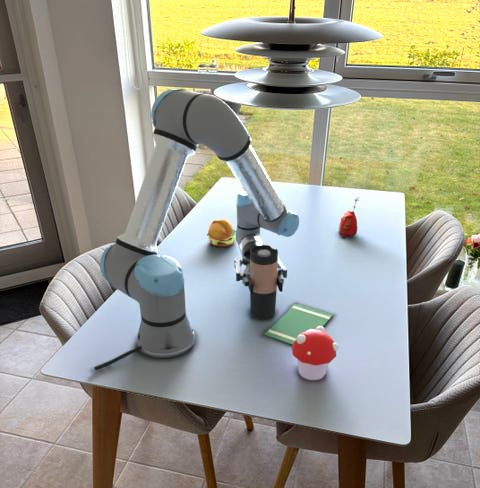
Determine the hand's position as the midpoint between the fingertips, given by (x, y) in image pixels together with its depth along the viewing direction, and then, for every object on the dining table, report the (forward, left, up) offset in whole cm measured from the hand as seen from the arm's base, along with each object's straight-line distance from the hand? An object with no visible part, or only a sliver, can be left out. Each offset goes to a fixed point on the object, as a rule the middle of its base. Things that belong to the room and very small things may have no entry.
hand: (266, 288), depth 138 cm
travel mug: (+4, +3, -11) cm, 12 cm away
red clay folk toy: (+69, +3, -11) cm, 70 cm away
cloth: (+4, -9, -11) cm, 15 cm away
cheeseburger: (+38, +40, -11) cm, 56 cm away
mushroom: (-13, -21, -11) cm, 27 cm away
